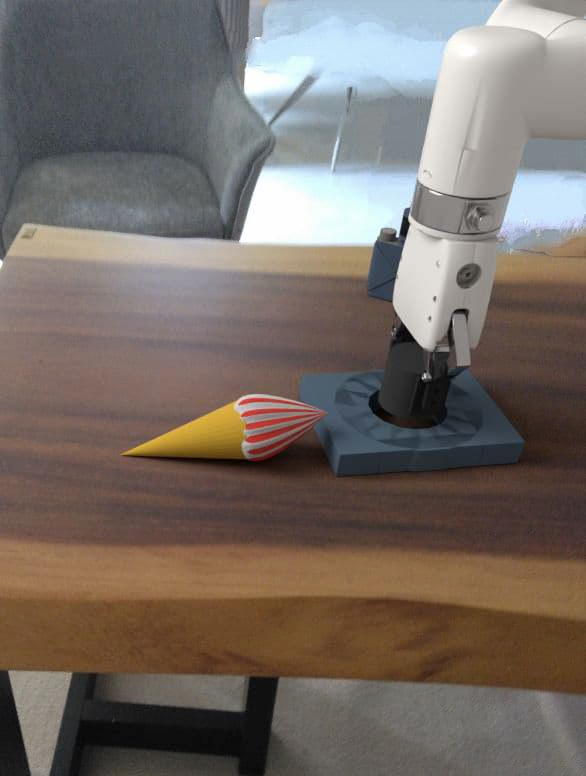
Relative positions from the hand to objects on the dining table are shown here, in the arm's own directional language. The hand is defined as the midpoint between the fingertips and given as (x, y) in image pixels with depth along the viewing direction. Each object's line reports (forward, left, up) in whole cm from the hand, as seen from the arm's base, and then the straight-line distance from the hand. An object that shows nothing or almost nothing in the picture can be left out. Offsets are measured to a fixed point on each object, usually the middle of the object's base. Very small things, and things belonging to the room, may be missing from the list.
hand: (412, 392), depth 77 cm
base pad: (0, 0, -4) cm, 4 cm away
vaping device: (-8, -29, -4) cm, 30 cm away
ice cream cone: (+19, +2, -4) cm, 20 cm away
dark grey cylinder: (0, 0, -1) cm, 1 cm away
